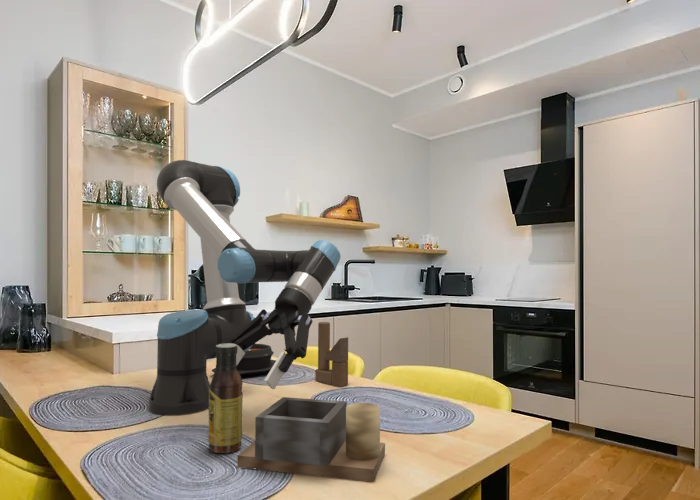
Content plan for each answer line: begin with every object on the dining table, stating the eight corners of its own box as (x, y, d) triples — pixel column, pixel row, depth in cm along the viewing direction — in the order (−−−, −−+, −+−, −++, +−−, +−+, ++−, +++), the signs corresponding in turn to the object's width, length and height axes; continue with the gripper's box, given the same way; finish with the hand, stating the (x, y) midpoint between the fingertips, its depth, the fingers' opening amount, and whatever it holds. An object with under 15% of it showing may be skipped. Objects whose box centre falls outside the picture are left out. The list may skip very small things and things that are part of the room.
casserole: (240, 383, 142) (240, 355, 142) (198, 375, 152) (198, 349, 152) (293, 369, 163) (293, 344, 163) (253, 362, 173) (254, 339, 173)
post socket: (236, 468, 82) (236, 409, 82) (265, 441, 95) (266, 390, 95) (373, 483, 76) (373, 420, 77) (385, 452, 89) (385, 398, 90)
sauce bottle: (211, 443, 94) (213, 341, 94) (244, 442, 94) (245, 341, 95) (204, 456, 87) (206, 347, 88) (239, 455, 88) (240, 347, 88)
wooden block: (339, 387, 138) (340, 325, 138) (314, 381, 145) (315, 322, 146) (348, 385, 140) (348, 324, 141) (323, 379, 148) (324, 321, 148)
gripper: (350, 311, 99) (301, 401, 87) (267, 306, 114) (216, 381, 102) (334, 287, 95) (280, 377, 83) (250, 284, 110) (194, 361, 98)
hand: (244, 380), depth 92 cm, fingers open, 13 cm apart
